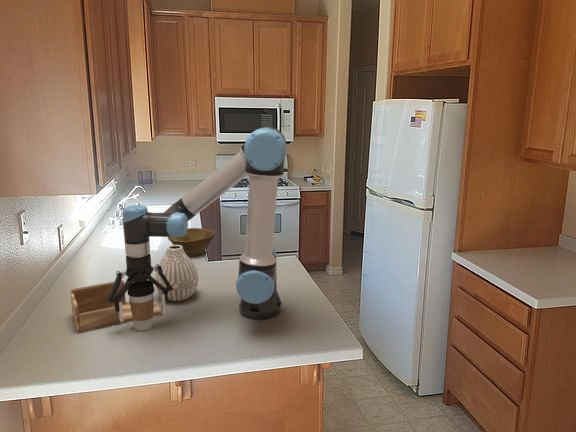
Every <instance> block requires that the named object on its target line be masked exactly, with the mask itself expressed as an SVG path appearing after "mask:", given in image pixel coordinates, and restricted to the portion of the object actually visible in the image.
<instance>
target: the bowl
mask: <svg viewBox="0 0 576 432" xmlns="http://www.w3.org/2000/svg"><path fill="white" fill-rule="evenodd" d="M214 236H215V231H214V230H212V229H208V228H201V227H200V228H199V227H188V229H187V233H186V235H185V236H183V237H167V239H168V241H170V243H171V244H172V245H181V246H182V247H183V249H184V251H185V253H186V255H187V256H188V257H199V256H202V254H203V253H204V252H205V250H206V249H207V248H208V246H209V245H210V244H211V242H212V241H213V238H214Z"/></svg>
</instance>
